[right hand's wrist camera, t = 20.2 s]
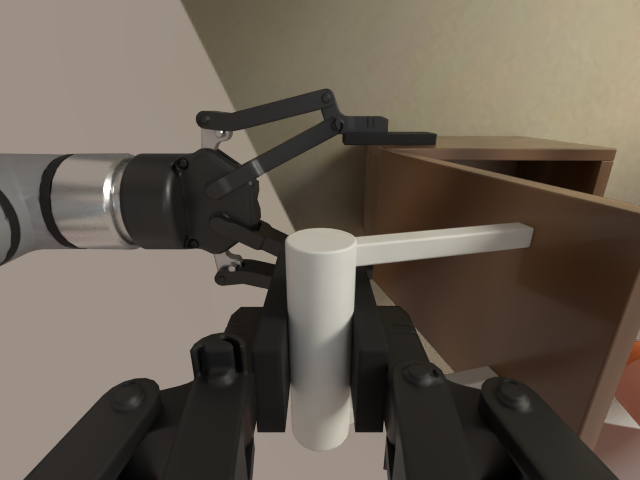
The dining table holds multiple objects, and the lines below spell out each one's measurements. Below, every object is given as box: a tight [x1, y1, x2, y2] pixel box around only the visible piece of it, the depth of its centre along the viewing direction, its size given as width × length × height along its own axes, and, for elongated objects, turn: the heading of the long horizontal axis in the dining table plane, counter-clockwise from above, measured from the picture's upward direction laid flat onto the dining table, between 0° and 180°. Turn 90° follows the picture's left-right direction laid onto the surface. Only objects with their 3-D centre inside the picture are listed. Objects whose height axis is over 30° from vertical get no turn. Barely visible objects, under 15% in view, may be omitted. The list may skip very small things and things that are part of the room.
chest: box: [363, 137, 617, 236], centre depth 29 cm, size 15×9×11 cm, turn 90°
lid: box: [285, 149, 640, 452], centre depth 16 cm, size 15×9×9 cm
